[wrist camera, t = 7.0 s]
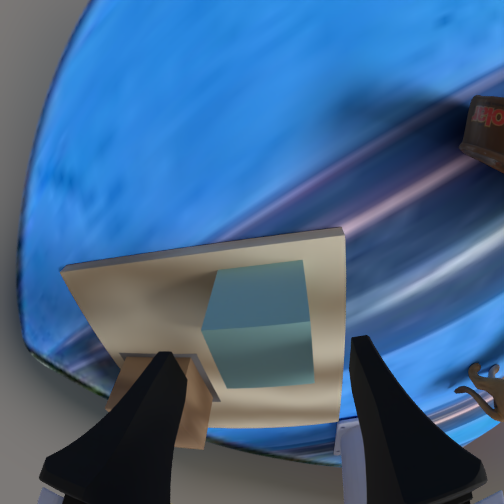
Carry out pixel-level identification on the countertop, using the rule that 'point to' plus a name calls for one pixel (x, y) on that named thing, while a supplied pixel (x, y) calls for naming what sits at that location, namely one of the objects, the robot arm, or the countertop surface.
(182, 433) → the walnut block
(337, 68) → the countertop surface
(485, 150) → the tin
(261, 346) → the teal block
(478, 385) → the lion figurine
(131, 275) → the baseplate
